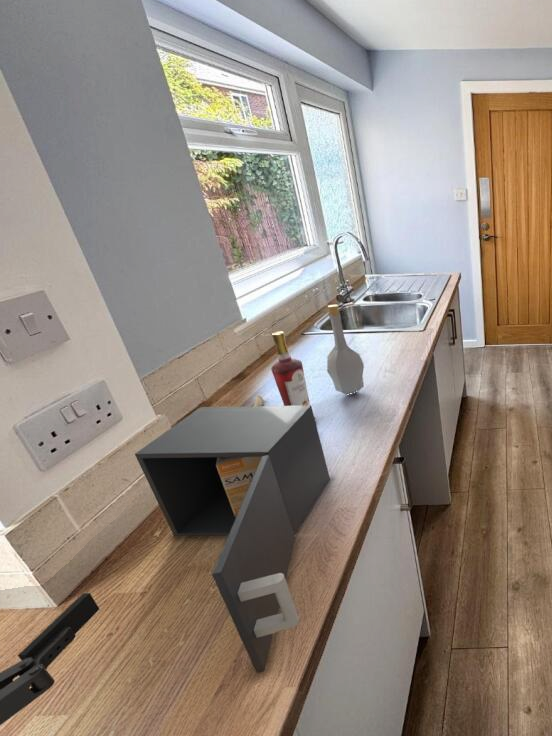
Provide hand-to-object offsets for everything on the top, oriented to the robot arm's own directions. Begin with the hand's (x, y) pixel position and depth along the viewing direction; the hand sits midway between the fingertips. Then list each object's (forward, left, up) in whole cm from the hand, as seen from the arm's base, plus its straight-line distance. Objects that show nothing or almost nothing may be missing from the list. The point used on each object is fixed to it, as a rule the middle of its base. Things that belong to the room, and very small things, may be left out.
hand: (34, 600), depth 46 cm
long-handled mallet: (-66, +21, -20) cm, 71 cm away
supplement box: (-28, +20, -19) cm, 39 cm away
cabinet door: (-2, +24, -19) cm, 31 cm away
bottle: (-68, +49, -20) cm, 86 cm away
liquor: (-58, +33, -20) cm, 69 cm away
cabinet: (-28, +20, -19) cm, 40 cm away
